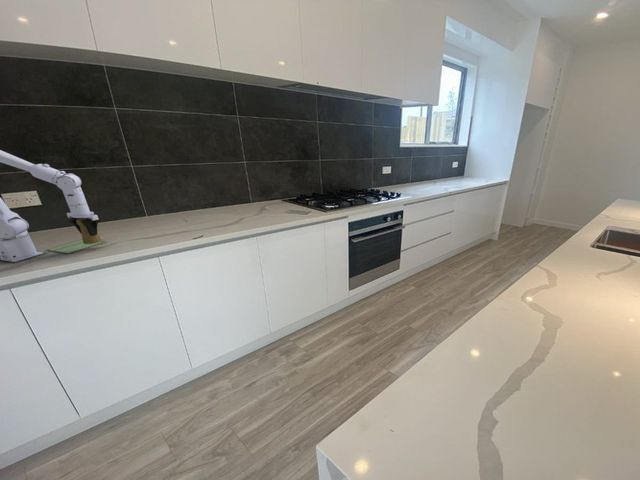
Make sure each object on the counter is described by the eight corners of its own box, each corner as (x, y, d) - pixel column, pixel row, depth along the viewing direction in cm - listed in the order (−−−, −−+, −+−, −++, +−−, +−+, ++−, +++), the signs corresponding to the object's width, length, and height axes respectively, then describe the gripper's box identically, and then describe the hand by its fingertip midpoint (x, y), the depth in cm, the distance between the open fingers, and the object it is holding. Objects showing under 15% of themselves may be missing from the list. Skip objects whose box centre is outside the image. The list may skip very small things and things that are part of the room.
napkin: (68, 253, 128) (68, 252, 128) (48, 250, 131) (47, 249, 130) (103, 242, 141) (103, 241, 140) (84, 239, 143) (83, 238, 143)
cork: (85, 245, 128) (75, 220, 124) (81, 242, 131) (71, 217, 127) (103, 241, 133) (94, 217, 128) (99, 238, 136) (90, 215, 131)
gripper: (101, 203, 127) (112, 233, 133) (75, 200, 130) (87, 230, 136) (82, 207, 121) (94, 238, 126) (56, 204, 124) (69, 235, 129)
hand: (89, 234), depth 131 cm, fingers closed on cork, 5 cm apart
